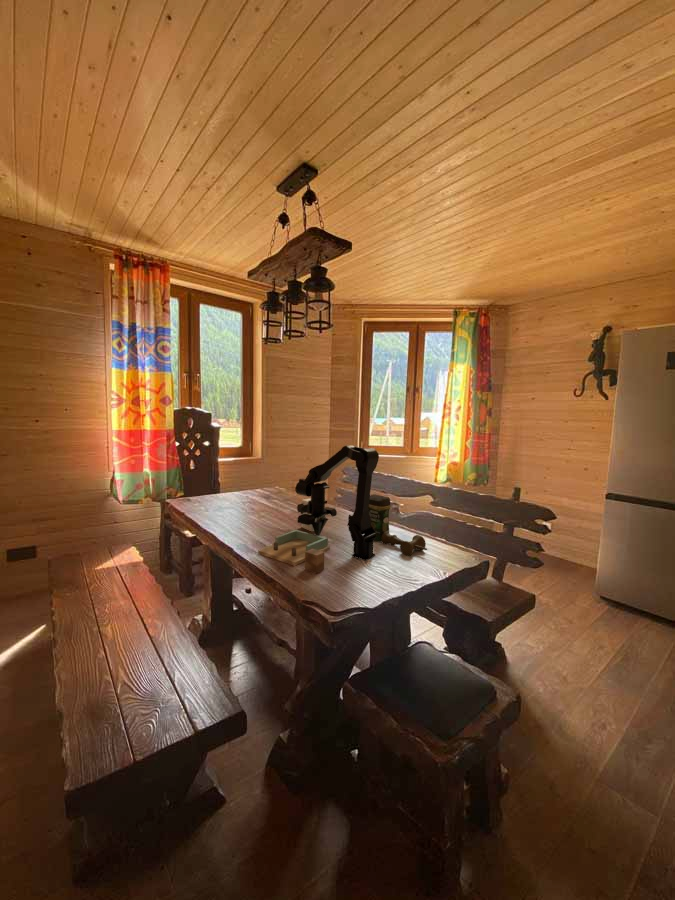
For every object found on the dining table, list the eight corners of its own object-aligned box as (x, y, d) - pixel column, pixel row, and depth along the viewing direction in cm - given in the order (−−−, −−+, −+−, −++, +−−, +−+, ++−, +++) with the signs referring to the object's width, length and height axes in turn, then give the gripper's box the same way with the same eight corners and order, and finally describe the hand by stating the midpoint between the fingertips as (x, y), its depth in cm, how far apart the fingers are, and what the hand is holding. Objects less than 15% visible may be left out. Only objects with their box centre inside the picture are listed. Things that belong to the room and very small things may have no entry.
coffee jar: (362, 538, 157) (363, 494, 155) (374, 534, 163) (375, 492, 161) (380, 543, 150) (382, 498, 148) (392, 539, 156) (393, 495, 154)
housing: (327, 545, 143) (327, 538, 143) (308, 554, 134) (308, 546, 133) (295, 536, 153) (295, 529, 152) (275, 544, 143) (275, 537, 143)
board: (329, 549, 143) (329, 539, 143) (294, 565, 127) (294, 555, 127) (294, 539, 153) (294, 530, 153) (258, 553, 137) (258, 543, 137)
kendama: (391, 541, 155) (434, 553, 141) (376, 548, 148) (420, 561, 134) (391, 527, 154) (434, 538, 140) (376, 533, 147) (420, 544, 133)
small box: (322, 529, 168) (323, 501, 166) (311, 532, 164) (311, 502, 162) (312, 525, 174) (312, 497, 173) (301, 527, 170) (301, 499, 169)
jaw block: (324, 569, 125) (324, 551, 124) (316, 573, 121) (316, 555, 121) (312, 565, 128) (312, 548, 127) (304, 569, 124) (305, 551, 124)
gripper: (316, 492, 162) (316, 527, 163) (287, 499, 147) (286, 538, 148) (337, 495, 155) (337, 532, 157) (308, 503, 140) (308, 544, 142)
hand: (317, 536), depth 151 cm, fingers closed
